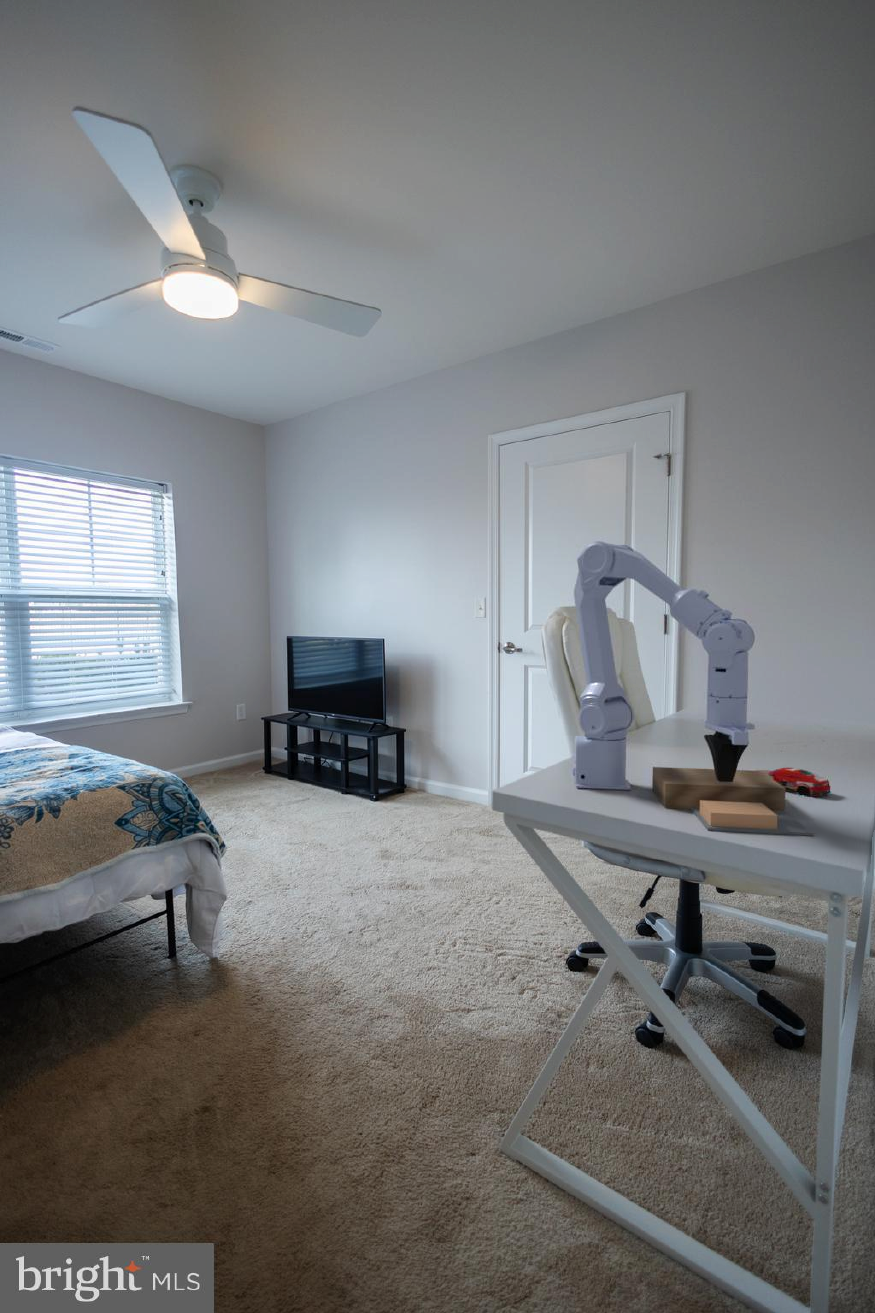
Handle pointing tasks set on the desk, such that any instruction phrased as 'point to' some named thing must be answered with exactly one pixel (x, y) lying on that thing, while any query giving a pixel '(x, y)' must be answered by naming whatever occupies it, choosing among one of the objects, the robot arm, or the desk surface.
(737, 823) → the tan wooden block
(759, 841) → the desk surface
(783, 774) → the race car
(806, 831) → the mat
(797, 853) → the desk surface
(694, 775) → the brown wooden flat block
